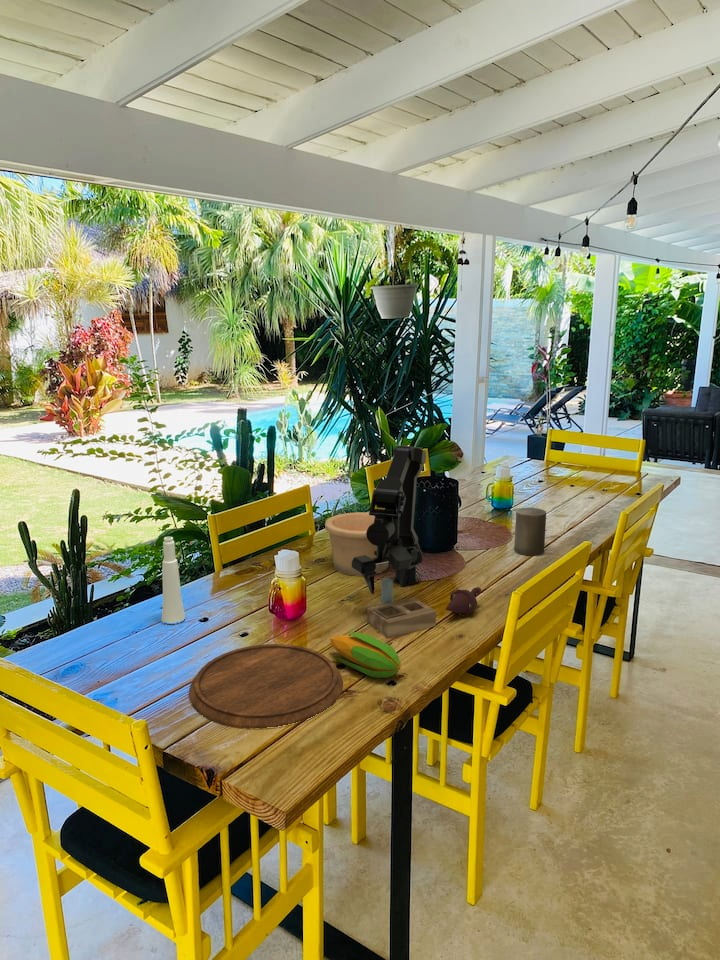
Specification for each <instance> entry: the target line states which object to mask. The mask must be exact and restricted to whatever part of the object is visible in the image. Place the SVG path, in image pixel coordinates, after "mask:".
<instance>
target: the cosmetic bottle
mask: <svg viewBox="0 0 720 960" xmlns="http://www.w3.org/2000/svg"><path fill="white" fill-rule="evenodd" d="M162 548H163V560H162V564H161V565H162V570H161V571H162V611H161V612H162V613H161V619H162V621H163V622H167V623H176V622H180V621H182V620H184V619H185V617H186V614H185V610H184V602H183V597H182V590H181V581H180V580H181V579H180V571H179V562H178V558H176V544H175V540H174V537H173V536H165V537H163V541H162ZM185 620H186V619H185ZM162 621H161V622H162Z"/></svg>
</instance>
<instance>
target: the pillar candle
mask: <svg viewBox="0 0 720 960" xmlns="http://www.w3.org/2000/svg"><path fill="white" fill-rule="evenodd" d="M546 525H547V511H546V510H544V509H543V508H542V509H541V508H537V507H536V508H535V507H521V508H517V509H516V510H515V526H514V544H513V545H514V546H513V547H514V548H513V551H514V552H515V553H517V554H519V555H523V556H530V557H534V556H535V557H536V556H541V555H543V554H544V553H545V546H546V545H545V544H546V543H545V542H546Z"/></svg>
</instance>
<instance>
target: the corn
mask: <svg viewBox="0 0 720 960" xmlns="http://www.w3.org/2000/svg"><path fill="white" fill-rule="evenodd" d="M348 634H349V635H348ZM348 634H347V635H346V634H345V635H344V634H343V635H342V634H341V635H340V634H339V635H336V636H332V637H330V644H331V646H332V647H333V648H334V649H335V650H336V652H337V653H338V654H340V655H342V656H343V657H345V659H348V660H345V659H343V658H341V657H338V656H337V655H335V654H331V656H332V657H333V658H335V659H336V660H337V661H339V662H341V663H342V664H344V665H346V666H348V667H350V668H352V669H353V670H356V671H358V672H360V673H362V674H365V675H366V676H368V677H369V678H375V679H384V678H385V679H386V678H390V677H392V676H393V675H396V674H397V673H398V672H399V671H400V670H401V663H402V662H401V660H400V657H399V654H398V653H397V651H396V650H395V648H394V646H391V645H390V644H387V643H386V642H383V641H381V640H380V639H378V638H376V637H374V636H372V635H369V634H366V633H362V632H354V631H349V632H348ZM350 661H351V662H350Z"/></svg>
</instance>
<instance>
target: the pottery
mask: <svg viewBox="0 0 720 960" xmlns="http://www.w3.org/2000/svg"><path fill="white" fill-rule="evenodd" d="M374 519H375V516H373V515H369V512H364V511H363V512H362V511H358V512H357V511H356V512H347V513H340V514H336V515H334V516H331V517H328V518H327V519H326V520H325V522H324V523H325V525H324V526H325V529H324V530H326V531H327V532H328V535H329V540H330V545H331V554H332V560H333V568H334V569H335V570H336V571H337V572H338V573H341V574H344V575H348V576H356V577H363V575H362V573H360V572H358V571H357V570H355V569H354V568H352V560H353V558H354V557H358V556H363V555H366V556H368V557H370V558H371V559H372V558H377V556H376V555H374V551H376V550H377V546H376V545H373V544H371V543H370V542H369V540H368V539H367V535H366V532H367V529H368V527H369V526H370V525H371V524H372V523H373V522H374ZM388 568H389V563H385V564H380V565H376V569H375V570H374V571H375V572H377V573H376V575H379V574H381V573H384V572H385V571H386V570H387V569H388ZM383 571H384V572H383ZM378 573H379V574H378Z"/></svg>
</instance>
